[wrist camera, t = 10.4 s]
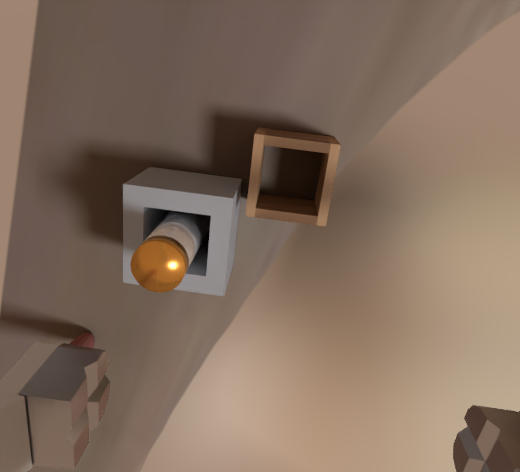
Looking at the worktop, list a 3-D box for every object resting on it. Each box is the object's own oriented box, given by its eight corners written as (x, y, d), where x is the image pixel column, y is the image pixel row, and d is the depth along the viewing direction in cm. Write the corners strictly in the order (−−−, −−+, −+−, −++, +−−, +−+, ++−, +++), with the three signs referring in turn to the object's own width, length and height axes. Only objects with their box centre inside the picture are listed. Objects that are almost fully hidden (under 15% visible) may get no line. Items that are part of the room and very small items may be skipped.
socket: (149, 166, 40) (123, 183, 33) (242, 178, 40) (233, 198, 33) (148, 251, 43) (123, 282, 36) (233, 263, 43) (223, 296, 36)
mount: (258, 127, 38) (254, 133, 33) (334, 136, 38) (340, 145, 33) (250, 200, 40) (245, 215, 36) (321, 209, 40) (325, 226, 36)
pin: (173, 195, 41) (130, 239, 29) (213, 200, 41) (185, 246, 29) (171, 233, 42) (130, 288, 31) (210, 238, 42) (182, 295, 31)
